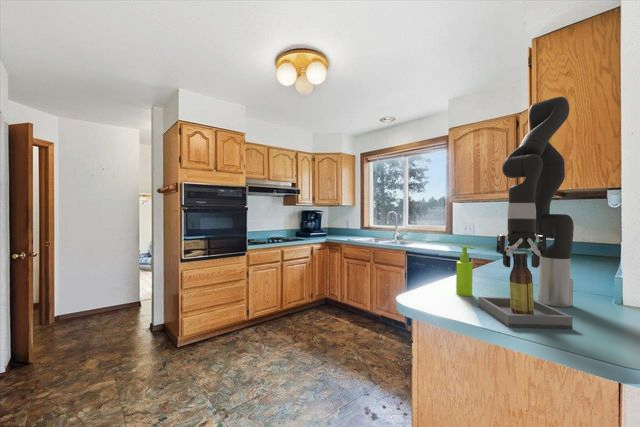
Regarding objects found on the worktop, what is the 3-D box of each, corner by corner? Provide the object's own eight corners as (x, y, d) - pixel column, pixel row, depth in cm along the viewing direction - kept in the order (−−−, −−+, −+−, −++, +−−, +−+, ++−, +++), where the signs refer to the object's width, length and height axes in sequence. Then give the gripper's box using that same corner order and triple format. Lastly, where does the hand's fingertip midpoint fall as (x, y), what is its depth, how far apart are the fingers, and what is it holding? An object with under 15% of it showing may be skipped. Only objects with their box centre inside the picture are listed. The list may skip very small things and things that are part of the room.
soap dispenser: (468, 297, 112) (468, 247, 112) (453, 293, 118) (453, 245, 118) (477, 295, 115) (478, 246, 115) (462, 291, 121) (462, 244, 121)
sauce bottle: (526, 310, 95) (526, 251, 95) (538, 317, 89) (538, 254, 88) (505, 309, 96) (505, 251, 95) (516, 316, 89) (516, 253, 89)
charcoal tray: (530, 307, 101) (530, 298, 101) (572, 328, 83) (572, 317, 83) (478, 306, 102) (478, 296, 102) (508, 327, 84) (508, 315, 84)
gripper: (536, 217, 95) (535, 265, 95) (492, 216, 96) (491, 264, 96) (553, 217, 88) (552, 270, 88) (505, 217, 89) (504, 269, 89)
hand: (520, 267), depth 92 cm, fingers open, 8 cm apart
